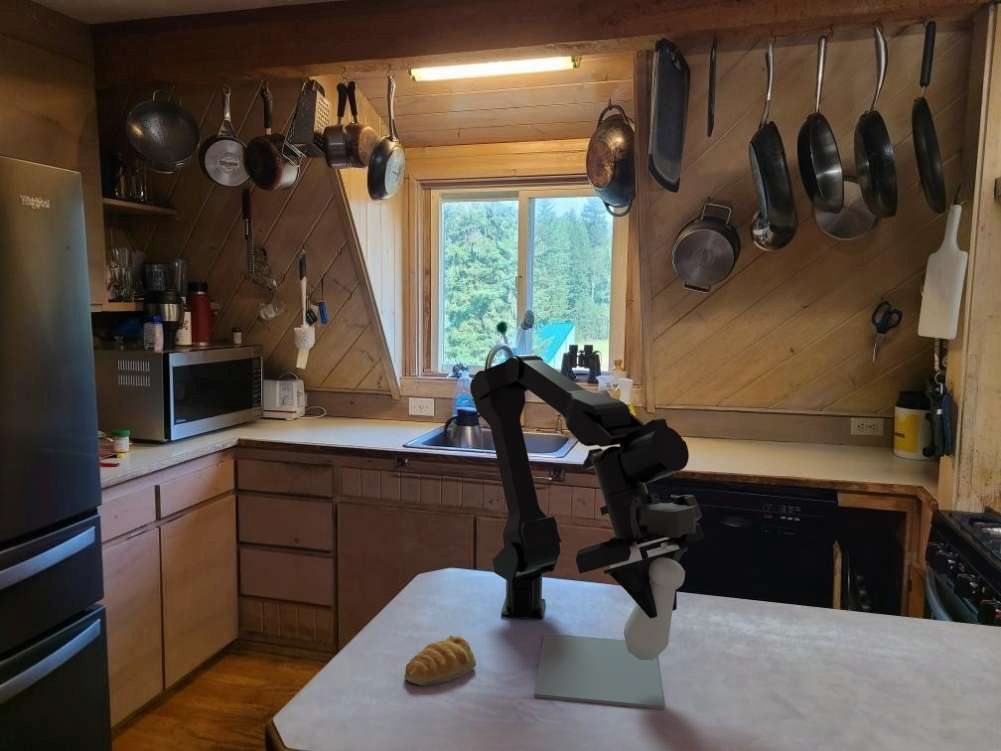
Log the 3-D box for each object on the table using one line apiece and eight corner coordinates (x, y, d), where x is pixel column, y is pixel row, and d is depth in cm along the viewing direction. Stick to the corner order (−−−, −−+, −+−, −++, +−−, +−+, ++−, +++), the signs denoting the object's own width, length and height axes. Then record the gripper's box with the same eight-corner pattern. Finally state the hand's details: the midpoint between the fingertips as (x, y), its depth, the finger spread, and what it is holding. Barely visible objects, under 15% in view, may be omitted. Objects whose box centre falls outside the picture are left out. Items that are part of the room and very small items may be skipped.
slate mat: (544, 635, 105) (544, 633, 105) (655, 645, 103) (655, 642, 103) (533, 696, 90) (533, 693, 90) (664, 709, 87) (664, 706, 87)
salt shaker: (668, 648, 93) (698, 564, 89) (657, 672, 88) (688, 585, 84) (626, 627, 95) (653, 545, 91) (613, 650, 90) (641, 564, 86)
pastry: (424, 697, 90) (424, 668, 89) (393, 676, 94) (392, 648, 94) (480, 670, 96) (480, 643, 96) (447, 652, 101) (448, 626, 100)
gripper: (618, 484, 82) (662, 624, 77) (715, 466, 93) (758, 587, 89) (557, 508, 90) (594, 636, 85) (653, 489, 101) (690, 600, 97)
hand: (663, 614), depth 89 cm, fingers closed on salt shaker, 3 cm apart
